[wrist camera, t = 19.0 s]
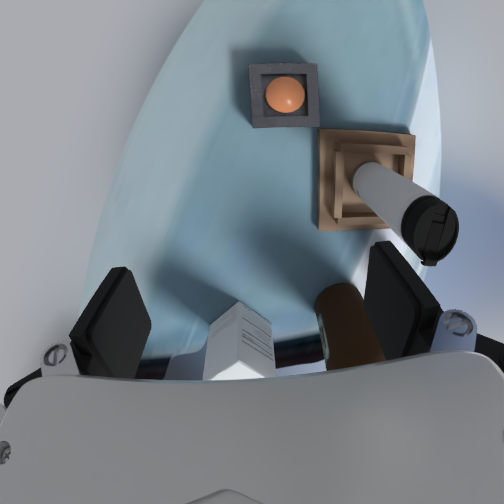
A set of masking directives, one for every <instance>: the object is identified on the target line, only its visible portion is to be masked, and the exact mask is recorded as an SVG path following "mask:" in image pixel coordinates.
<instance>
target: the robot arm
mask: <svg viewBox="0 0 504 504" xmlns="http://www.w3.org/2000/svg"><path fill="white" fill-rule="evenodd" d="M364 310H365V312H366V314H367V317H368V319H369V321H370V323H371V326H372V328H373V330H374V332H375V335H376V337H377V339H378V342H379V344H380V347H381V349H382V351H383V354H384V356H385V359H386V361H383V362H378V363H372V364H367V365H361V366H355V367H349V368H343V369H337V370H330V371H323V372H316V373H308V374H300V375H290V376H281V377H268V378H255V379H237V380H207V381H174V380H144V379H134V377H135V374H136V371H137V368H138V365H139V362H140V359H141V356H142V353H143V350H144V347H145V344H146V341H147V339H148V336H149V333H150V330H151V320H150V317H149V315H148V312H147V310H146V308H145V305H144V303H143V300H142V298H141V295H140V292H139V290H138V287H137V285H136V282H135V279H134V276H133V274H132V272H131V270H128V269H127V268H126V267H115V268H112V269H111V270H110V271H109V273H108V274H107V276H106V277H105V279H104V280H103V282H102V283H101V285H100V286H99V288H98V289H97V291H96V292H95V294H94V295H93V297H92V298H91V300H90V301H89V303H88V305H87V306H86V308H85V309H84V311H83V313H82V314H81V316H80V317H79V319H78V321H77V322H76V324H75V326H74V327H73V329H72V331H71V332H70V334H69V337H70V339H71V340H72V341H71V343H70V344H69V343H68V342H66V341H58V342H55V343H53V344H51V345H50V346H48V347H47V348H46V349H45V350H44V352H43V354H42V355H41V358H40V365H41V368H40V369H38V370H36V371H35V372H33V373H31V374H30V375H28V376H26V377H25V378H23V379H21V380H19V381H18V382H16V383H14V384H13V385H11V386H10V387H9V388H8V389H7V391H6V394H5V397H4V406H3V405H2V404H0V504H504V344H503V343H500V342H498V341H495V340H493V339H490V338H488V337H485V336H483V335H480V334H478V333H477V325H476V322H475V320H474V319H473V318H472V317H471V316H470V315H469V314H467V313H466V312H463V311H461V310H456V309H454V310H453V309H452V310H447V311H445V312H444V311H443V310H442V309H441V307H440V304H439V303H438V301H437V300H436V299H435V297H434V296H433V294H432V293H431V292H430V290H429V289H428V288H427V286H426V285H425V284H424V282H423V281H422V280H421V278H420V277H419V276H418V275H417V273H416V272H415V271H414V269H413V268H412V267H411V266H410V264H409V263H408V262H407V261H406V259H405V258H404V257H403V256H402V255H401V253H400V252H399V251H398V250H397V248H396V247H395V246H394V245H393V244H392V242H391V241H381V242H376V243H375V244H374V246H371V248H370V255H369V264H368V273H367V281H366V288H365V295H364Z"/></svg>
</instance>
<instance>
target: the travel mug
mask: <svg viewBox="0 0 504 504" xmlns="http://www.w3.org/2000/svg"><path fill="white" fill-rule="evenodd" d="M351 186H352V189H353V191H354V193H355V194H356V195H357V196H358V197H359V198H360V199H361V200H362V201H363V202H364V203H365V204H367V205H368V206H369V207H370V208H371V209H372V210H373V211H374V212H375V213H376V214H377V215H378V216H379V217H380V218H381V219H382V220H383V221H384V222H385V223H386V224H387V225H388V226H389V227H390V228H391V229H392V230H393V231H394V232H395V233H396V234H397V235H398V236H399V237H400V239H401V240H403V242H404V243H405V244H406V245H407V246H409V247H410V248H411V249H412V251H413V252H414V253H415V254H416V255H417V256H418V257H419V258H420V259H421V260H423V261H421V264H422V265H424V266H436V264H437V262H438V261H440V260H442V259H443V258H445V257H446V256H447V255H448V254H449V253H450V252H451V250H452V248H453V247H454V245H455V243H456V240H457V237H458V232H459V222H458V217H457V215H456V213H455V211H454V210H453V209H452V208H451V207H449V206H448V204H446V203H445V202H443V201H441V200H440V199H439V198H438V197H436V196H435V195H433V194H432V193H430V192H428V191H427V190H425V189H424V188H422V187H420V186H419V185H417V184H415V183H413V182H412V181H410V180H408V179H407V178H405V177H403V176H401V175H400V174H398V173H396V172H394V171H392V170H390V169H389V168H387V167H385V166H383V165H381V164H379V163H377V162H374V161H366V162H363V163H361V164H359V165H358V166H357V167H356V168H355V170H354V172H353V174H352V177H351Z"/></svg>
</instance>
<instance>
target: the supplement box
mask: <svg viewBox="0 0 504 504" xmlns="http://www.w3.org/2000/svg"><path fill="white" fill-rule="evenodd" d="M268 377H276V371H275V360H274V348H273V338H272V327H271V323H270V322H268V321H267V320H265V319H264V318H263V317H261V316H260V315H258V314H257V313H256V312H254V311H253V310H251V309H250V308H249V307H247V306H246V305H244V304H243V303H242V302H240V301H238V302H237V303H236V304H235V305H233V306H232V307H231V308H230V309H229V310H227V311H226V312H225V313H224V314H223V315H221V316H220V317H219V318H218V319H217V320H215V321H214V322H213V323H212V324H211V325H210V329H209V336H208V344H207V351H206V358H205V366H204V374H203V381H207V380H237V379H255V378H268Z"/></svg>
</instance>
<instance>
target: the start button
mask: <svg viewBox="0 0 504 504" xmlns="http://www.w3.org/2000/svg"><path fill="white" fill-rule="evenodd" d="M304 97H305V93H304V89H303V87H302V85H301V84H300V83H299V82H298V81H297V80H295V79H293V78H291V77H279V78H276V79H274V80H273V81H272V82H271V83H270V84H269V85H268V87H267V89H266V91H265V98H266V101H267V103H268V105H269V106H270V107H271V108H272V109H274V110H276V111H278V112H284V113H288V112H293V111H295V110H297V109H298V108H299V107H300V106H301V105H302V104H303V101H304Z"/></svg>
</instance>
